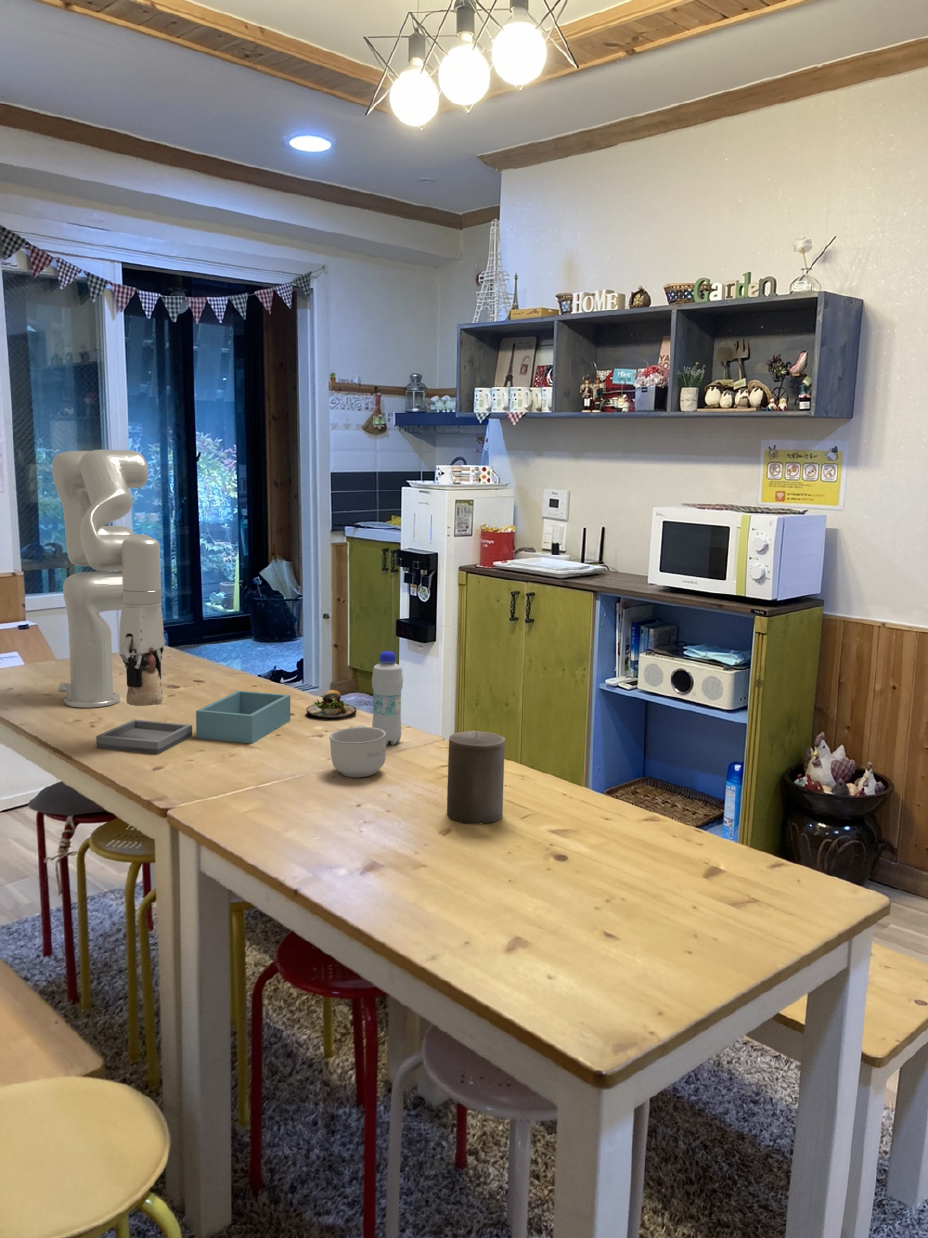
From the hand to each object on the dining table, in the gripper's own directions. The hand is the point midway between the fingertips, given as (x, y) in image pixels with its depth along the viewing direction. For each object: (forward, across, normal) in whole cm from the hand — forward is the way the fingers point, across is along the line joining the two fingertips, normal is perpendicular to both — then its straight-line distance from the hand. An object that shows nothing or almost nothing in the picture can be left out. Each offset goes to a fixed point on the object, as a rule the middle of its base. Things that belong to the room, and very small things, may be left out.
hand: (144, 682), depth 207 cm
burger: (+13, -34, +28) cm, 46 cm away
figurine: (+4, 0, 0) cm, 4 cm away
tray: (+13, 0, 0) cm, 13 cm away
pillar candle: (+14, +21, +76) cm, 80 cm away
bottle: (+13, -16, +48) cm, 52 cm away
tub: (+13, -16, +15) cm, 25 cm away
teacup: (+13, +4, +49) cm, 51 cm away
